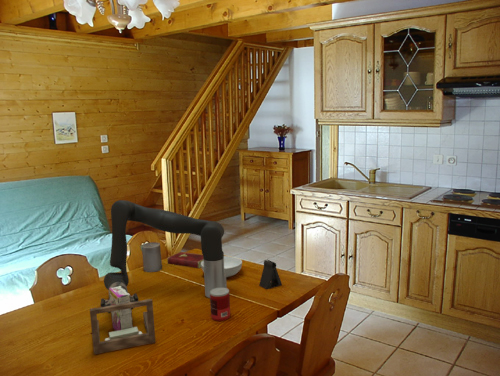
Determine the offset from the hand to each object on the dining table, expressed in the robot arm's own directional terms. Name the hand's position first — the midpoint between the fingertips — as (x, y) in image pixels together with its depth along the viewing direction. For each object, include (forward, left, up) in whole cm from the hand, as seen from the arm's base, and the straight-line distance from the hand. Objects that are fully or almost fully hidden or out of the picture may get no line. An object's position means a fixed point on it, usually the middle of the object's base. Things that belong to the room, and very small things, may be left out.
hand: (120, 308), depth 169 cm
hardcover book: (-41, -70, -10) cm, 81 cm away
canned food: (-38, +3, -9) cm, 39 cm away
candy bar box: (0, 0, -9) cm, 9 cm away
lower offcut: (0, +9, -10) cm, 13 cm away
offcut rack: (0, +4, -9) cm, 10 cm away
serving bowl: (-52, -44, -9) cm, 69 cm away
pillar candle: (-20, -68, -9) cm, 71 cm away
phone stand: (-69, -20, -9) cm, 72 cm away
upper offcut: (0, +9, -8) cm, 11 cm away
